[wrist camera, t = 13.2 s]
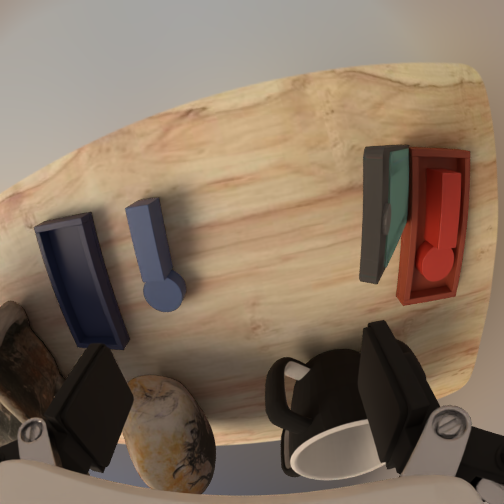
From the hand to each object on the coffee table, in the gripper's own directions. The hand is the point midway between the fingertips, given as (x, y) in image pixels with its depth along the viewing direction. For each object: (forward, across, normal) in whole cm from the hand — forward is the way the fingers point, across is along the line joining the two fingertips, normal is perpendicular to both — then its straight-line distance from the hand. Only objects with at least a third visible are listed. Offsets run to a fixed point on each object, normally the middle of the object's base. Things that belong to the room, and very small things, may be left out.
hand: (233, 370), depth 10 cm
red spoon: (+18, -18, +2) cm, 25 cm away
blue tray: (+18, +19, +4) cm, 27 cm away
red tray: (+18, -18, +2) cm, 26 cm away
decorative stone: (+19, +12, +22) cm, 31 cm away
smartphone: (+13, -10, -2) cm, 16 cm away
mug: (+19, -7, +20) cm, 28 cm away
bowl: (+19, +38, +16) cm, 45 cm away
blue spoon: (+18, +9, +2) cm, 21 cm away
